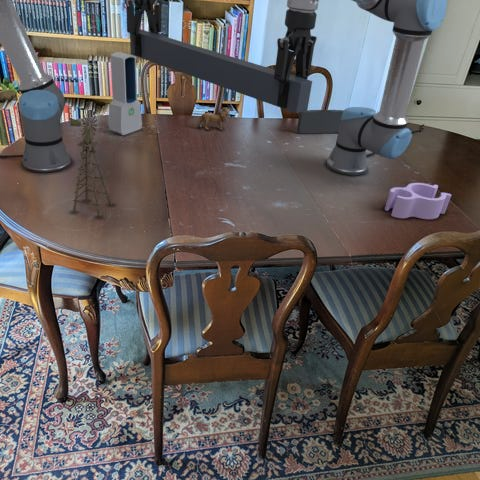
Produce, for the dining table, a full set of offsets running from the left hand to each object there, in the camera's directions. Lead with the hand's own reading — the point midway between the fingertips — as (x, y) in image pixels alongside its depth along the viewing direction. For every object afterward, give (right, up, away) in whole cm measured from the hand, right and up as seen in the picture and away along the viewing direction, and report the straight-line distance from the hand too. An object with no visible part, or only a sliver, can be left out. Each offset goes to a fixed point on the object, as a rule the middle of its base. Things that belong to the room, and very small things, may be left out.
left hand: (144, 54), depth 160 cm
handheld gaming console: (+69, -15, +52) cm, 88 cm away
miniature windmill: (-11, -54, -23) cm, 60 cm away
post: (+23, -14, -17) cm, 32 cm away
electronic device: (-15, -18, +33) cm, 40 cm away
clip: (+91, -54, -5) cm, 105 cm away
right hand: (+46, -27, -34) cm, 63 cm away
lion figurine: (+21, -15, +44) cm, 51 cm away
